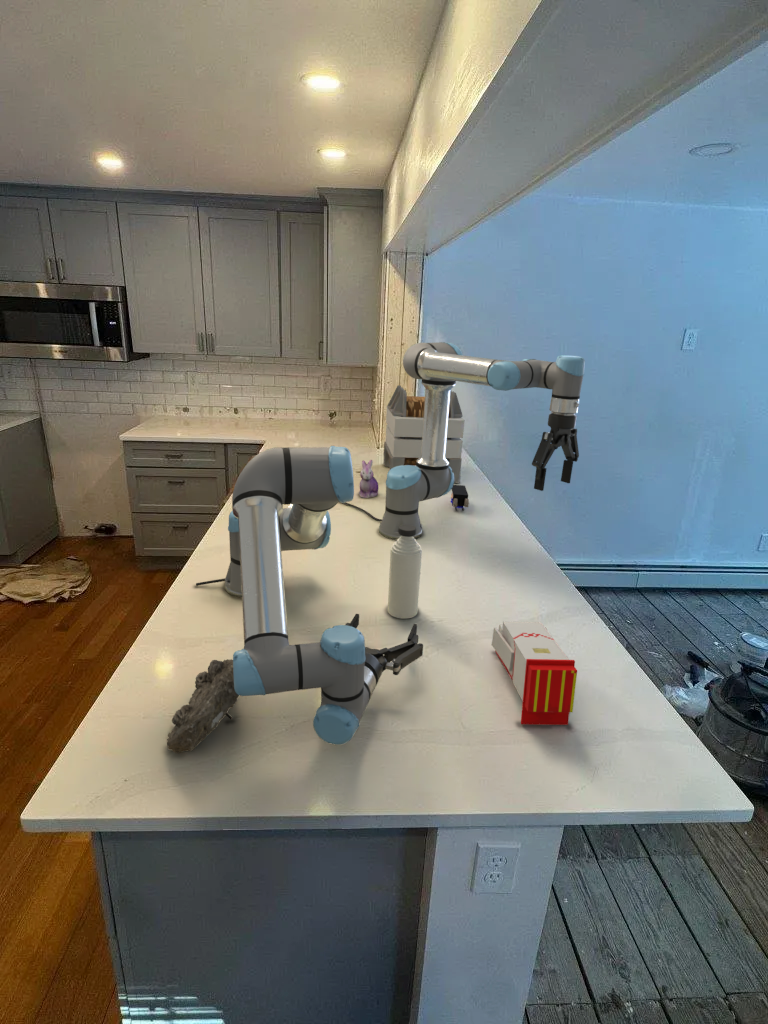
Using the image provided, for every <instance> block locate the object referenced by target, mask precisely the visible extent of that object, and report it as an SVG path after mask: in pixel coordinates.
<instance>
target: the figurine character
mask: <svg viewBox="0 0 768 1024" xmlns="http://www.w3.org/2000/svg"><path fill="white" fill-rule="evenodd" d="M449 502H450V504H451V506H452V507H453V508H454V511H456V512H457V511H458V509H461V511H462V512H464V511H465V508H469V505H470V500H469V492H468V490H467V488H466V485H464V484H463V485H461V484H453V487H452V489H451V494H450V501H449Z"/></svg>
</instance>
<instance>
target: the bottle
mask: <svg viewBox="0 0 768 1024" xmlns="http://www.w3.org/2000/svg"><path fill="white" fill-rule="evenodd" d="M422 555H423V549H422V547H421V544H420V543H419V542H418V540H416V538H414V537H413V536H412V537H405V536H401V537H399V539H397V540H395V541H394V542H393V543H392V544H391V547H390V557H389V574H388V591H387V592H388V594H387V596H388V597H387V613H388V614H389V615H390V616H391V617H394V618H396V619H405V620H406V619H410V618H414V617H416V616H417V615H418V609H419V597H420V583H421V581H420V580H421V571H422V570H421V568H422V557H423V556H422Z"/></svg>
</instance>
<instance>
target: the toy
mask: <svg viewBox="0 0 768 1024" xmlns="http://www.w3.org/2000/svg"><path fill="white" fill-rule="evenodd" d="M491 646H492V647H493V649H494V652H495V654H496V656H497V657H498V659H499V661H500V662H501V664H502V666H503V668H504V669H505V671H506V672H507V675H508V676H509V678H510V679H511V681H512V684H513V685H514V687H515V689H516V691H517V693H518V695H519V697H520V699H521V702H522V703H521V715H520V725H537V726H538V725H539V726H541V725H543V726H568V725H569V719H570V713H573V712H574V703H575V694H576V685H577V678H578V677H577V676H578V669H577V668H576V667H575V664H576V660H575V659H569V657H568V656H567V655H566V653H565V651H563V650H562V648H561V647H560V646H559V644H558V643H557V642H556V640H555V639H554V637H553V636H552V635H551V633H550V632H549V631H548V629H547V628H546V627H545V625H544V624H543V622H541V621H502V623H499V624H498V628H497V627H493V630H492V640H491Z"/></svg>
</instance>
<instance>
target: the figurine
mask: <svg viewBox="0 0 768 1024" xmlns="http://www.w3.org/2000/svg"><path fill="white" fill-rule="evenodd" d="M373 463H374V461H373V459H370V460H369V461H368V462H366V461H365V460H362V461H361V471H360V473H359V475H360V478H361V480H360V482H359V492H358V495H359V497H360V498H365V499H369V498H374V497H376V496H378V494H379V489H380V488H379V487H380V486H379V482H378V480H377V479H376V478H375V477H374V472H373V468H372V466H373Z"/></svg>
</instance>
